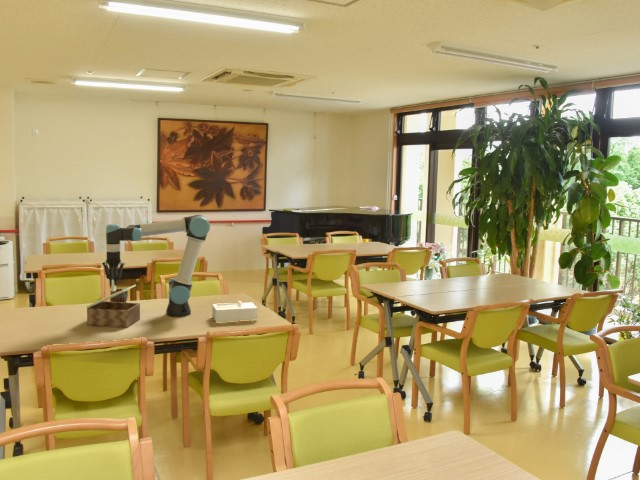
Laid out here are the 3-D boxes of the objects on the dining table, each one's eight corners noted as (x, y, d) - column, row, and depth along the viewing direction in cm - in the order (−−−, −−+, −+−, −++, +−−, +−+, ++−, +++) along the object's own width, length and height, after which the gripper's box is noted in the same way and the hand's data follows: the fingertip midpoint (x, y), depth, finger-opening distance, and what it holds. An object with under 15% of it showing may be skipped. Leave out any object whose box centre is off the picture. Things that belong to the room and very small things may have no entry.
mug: (121, 316, 359) (121, 292, 357) (105, 315, 361) (105, 291, 359) (134, 310, 374) (134, 287, 372) (119, 309, 376) (119, 286, 374)
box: (140, 319, 353) (139, 303, 351) (127, 327, 335) (127, 310, 334) (101, 317, 355) (101, 301, 354) (87, 325, 337) (86, 308, 336)
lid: (136, 285, 350) (135, 284, 350) (123, 292, 333) (123, 290, 333) (101, 301, 353) (100, 299, 353) (87, 308, 336) (86, 306, 336)
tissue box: (257, 321, 357) (257, 304, 356) (216, 324, 349) (216, 306, 348) (252, 315, 371) (252, 298, 370) (212, 317, 363) (212, 300, 361)
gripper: (126, 250, 343) (127, 290, 346) (105, 249, 344) (106, 288, 347) (121, 252, 335) (121, 292, 338) (99, 251, 336) (100, 291, 339)
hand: (113, 290), depth 342 cm, fingers closed
